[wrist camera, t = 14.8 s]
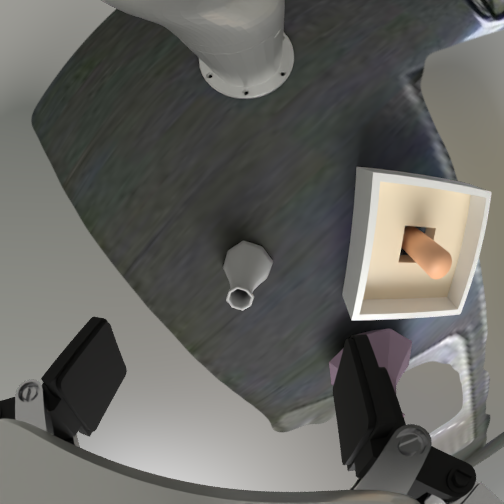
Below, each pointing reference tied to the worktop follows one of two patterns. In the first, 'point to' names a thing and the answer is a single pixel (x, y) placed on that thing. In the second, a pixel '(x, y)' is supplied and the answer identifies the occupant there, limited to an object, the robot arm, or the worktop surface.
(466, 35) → the worktop surface
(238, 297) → the flask
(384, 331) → the flask
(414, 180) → the box
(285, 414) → the worktop surface
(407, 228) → the peg
